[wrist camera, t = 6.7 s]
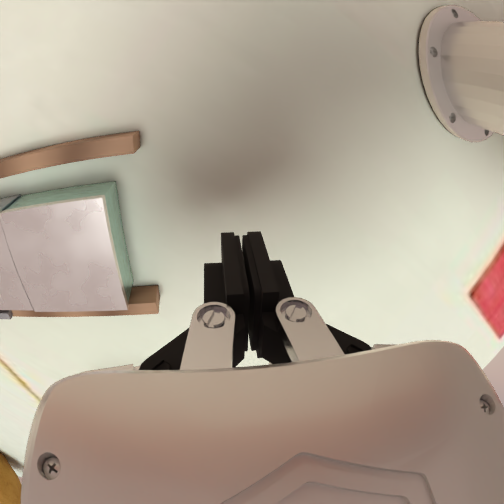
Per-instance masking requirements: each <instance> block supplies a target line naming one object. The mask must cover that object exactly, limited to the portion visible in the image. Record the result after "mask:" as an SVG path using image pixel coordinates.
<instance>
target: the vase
mask: <svg viewBox="0 0 504 504" xmlns="http://www.w3.org/2000/svg"><path fill="white" fill-rule="evenodd" d="M21 486H22V485H21V483H20V481H19V478H18V476H17V475H16V473H15V471H14V470H13V469H12V467H11V466H10V464H9V463H8V461H7V459H6V458H5V456H4V455H2V454H1V453H0V504H21Z"/></svg>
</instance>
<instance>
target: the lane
mask: <svg viewBox="0 0 504 504" xmlns="http://www.w3.org/2000/svg"><path fill="white" fill-rule="evenodd" d="M139 148H140V135H139V131H134V132H126V133H119V134H112V135H105V136H99V137H93V138H87V139H81V140H76V141H71V142H66V143H61V144H57V145H52V146H48V147H44V148H40V149H36V150H32V151H28V152H24V153H20V154H17V155H13V156H10V157H6V158H3V159H0V178H4V177H7V176H11V175H15V174H19V173H23V172H28V171H32V170H36V169H41V168H46V167H50V166H55V165H61V164H66V163H71V162H77V161H83V160H89V159H95V158H102V157H109V156H117V155H124V154H133V153H135V152H136V151H137V150H138V149H139ZM159 301H160V293H159V288H158V285H153V286H137V287H132V289H131V293H130V298H129V302H128V304H129V307H128V310H116V311H80V312H35V311H34V310H0V319H11V318H12V316H24V317H80V316H116V315H139V314H158V312H159Z"/></svg>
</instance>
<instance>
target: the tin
mask: <svg viewBox="0 0 504 504" xmlns="http://www.w3.org/2000/svg"><path fill="white" fill-rule="evenodd" d="M0 221H1V224H2V228H3V231H4V234H5V238H6V241H7V244H8V247H9V250H10V253H11V255H12V258H13V261H14V264H15V266H16V269H17V272H18V274H19V277H20V279H21V282H22V284H23V286H24V289H25V291H26V293H27V296H28V298H29V300H30V302H31V305H32V307H33V309H34V311H35V312H80V311H116V310H128V307H129V304H128V302H129V298H130V293H131V289H132V285H133V276H132V272H131V267H130V263H129V258H128V253H127V248H126V243H125V238H124V232H123V226H122V221H121V214H120V208H119V201H118V194H117V187H116V181H113V182H104V183H97V184H89V185H82V186H76V187H69V188H63V189H57V190H51V191H45V192H40V193H34V194H29V195H24V196H21V197H20V198H19V199H18V200H16V201H15V202H14V203H13V204H11V205H10V206H9V207H8V208H6V209H5V210H3V211H1V212H0Z"/></svg>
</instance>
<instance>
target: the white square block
mask: <svg viewBox="0 0 504 504" xmlns="http://www.w3.org/2000/svg"><path fill="white" fill-rule="evenodd" d="M20 197H21V194H19V195H15V196H10V197H5V198H1V199H0V212H1V211H3V210H5V209H6V208H8V207H9V206H10V205H11V204H13V203H14V202H15V201H16V200H18V199H19V198H20ZM0 310H34V309H33V307H32V305H31V302H30V300H29V298H28V296H27V293H26V291H25V289H24V286H23V284H22V282H21V279H20V277H19V274H18V272H17V269H16V266H15V264H14V261H13V258H12V255H11V253H10V250H9V247H8V244H7V241H6V238H5V234H4V231H3V228H2V224H1V221H0Z"/></svg>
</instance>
